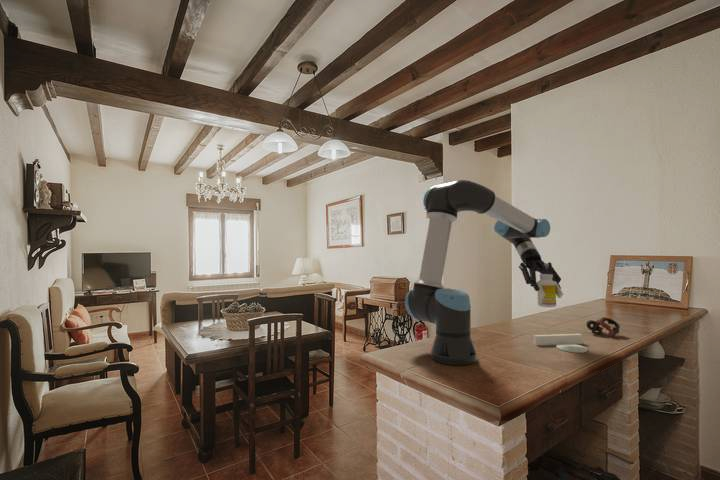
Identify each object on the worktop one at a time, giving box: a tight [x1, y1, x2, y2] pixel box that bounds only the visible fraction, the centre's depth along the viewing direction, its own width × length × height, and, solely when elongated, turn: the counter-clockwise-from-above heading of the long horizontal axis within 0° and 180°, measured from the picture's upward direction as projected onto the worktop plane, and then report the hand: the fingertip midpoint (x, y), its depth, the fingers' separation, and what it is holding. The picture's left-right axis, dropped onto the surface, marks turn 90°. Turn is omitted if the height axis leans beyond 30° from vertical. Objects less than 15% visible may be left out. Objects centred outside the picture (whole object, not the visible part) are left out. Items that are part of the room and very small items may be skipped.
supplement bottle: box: [537, 273, 557, 308], centre depth 145 cm, size 7×7×13 cm
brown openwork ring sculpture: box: [586, 316, 621, 338], centre depth 153 cm, size 12×10×8 cm
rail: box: [532, 333, 584, 346], centre depth 140 cm, size 19×2×4 cm, turn 94°
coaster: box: [555, 343, 589, 354], centre depth 133 cm, size 10×10×1 cm
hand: (552, 296), depth 142 cm, fingers closed on supplement bottle, 7 cm apart
